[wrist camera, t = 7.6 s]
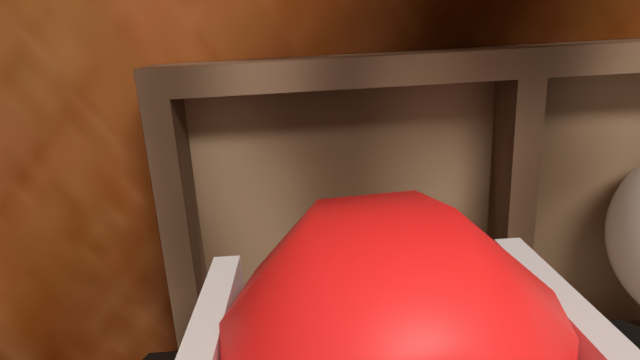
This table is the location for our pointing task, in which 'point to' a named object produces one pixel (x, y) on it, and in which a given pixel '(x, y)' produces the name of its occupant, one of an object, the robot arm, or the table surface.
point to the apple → (393, 290)
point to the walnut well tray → (395, 150)
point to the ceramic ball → (625, 233)
